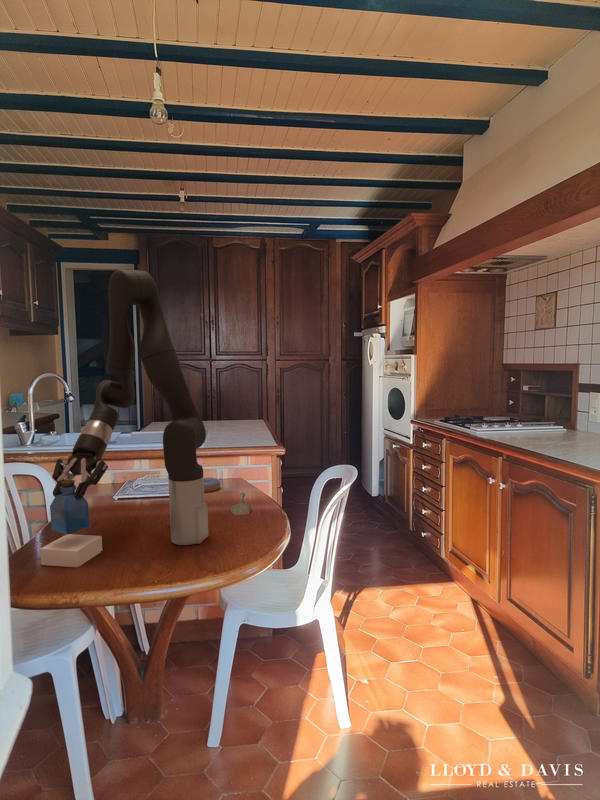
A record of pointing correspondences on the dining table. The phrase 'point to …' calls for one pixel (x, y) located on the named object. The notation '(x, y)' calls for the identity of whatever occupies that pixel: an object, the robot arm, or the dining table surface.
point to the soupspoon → (241, 507)
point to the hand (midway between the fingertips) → (66, 497)
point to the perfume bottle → (68, 510)
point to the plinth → (71, 550)
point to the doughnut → (211, 484)
